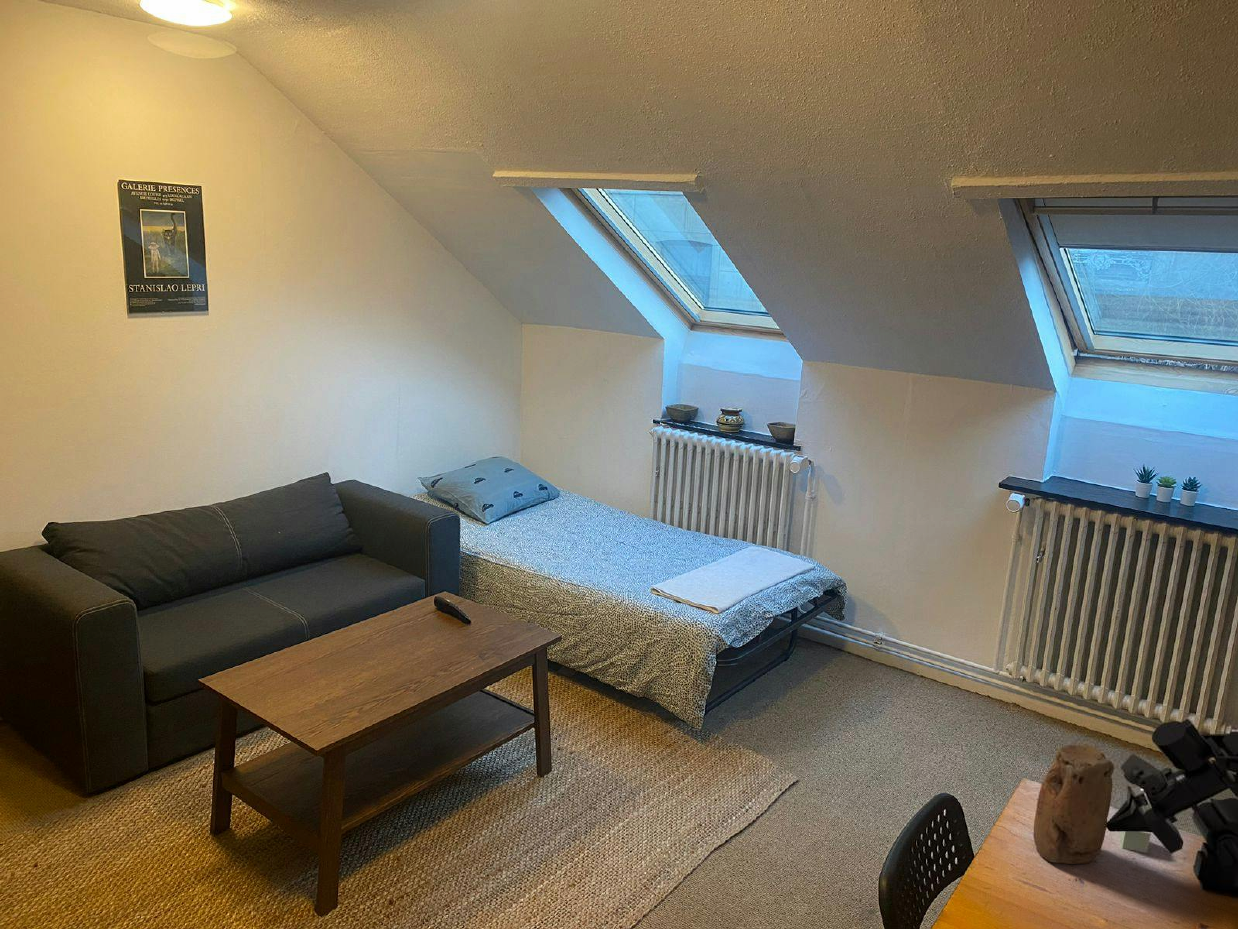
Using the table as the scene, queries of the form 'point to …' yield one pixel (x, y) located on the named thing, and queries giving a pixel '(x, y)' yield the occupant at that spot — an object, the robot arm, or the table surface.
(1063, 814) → the brown stone
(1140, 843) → the sage cube
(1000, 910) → the table surface
